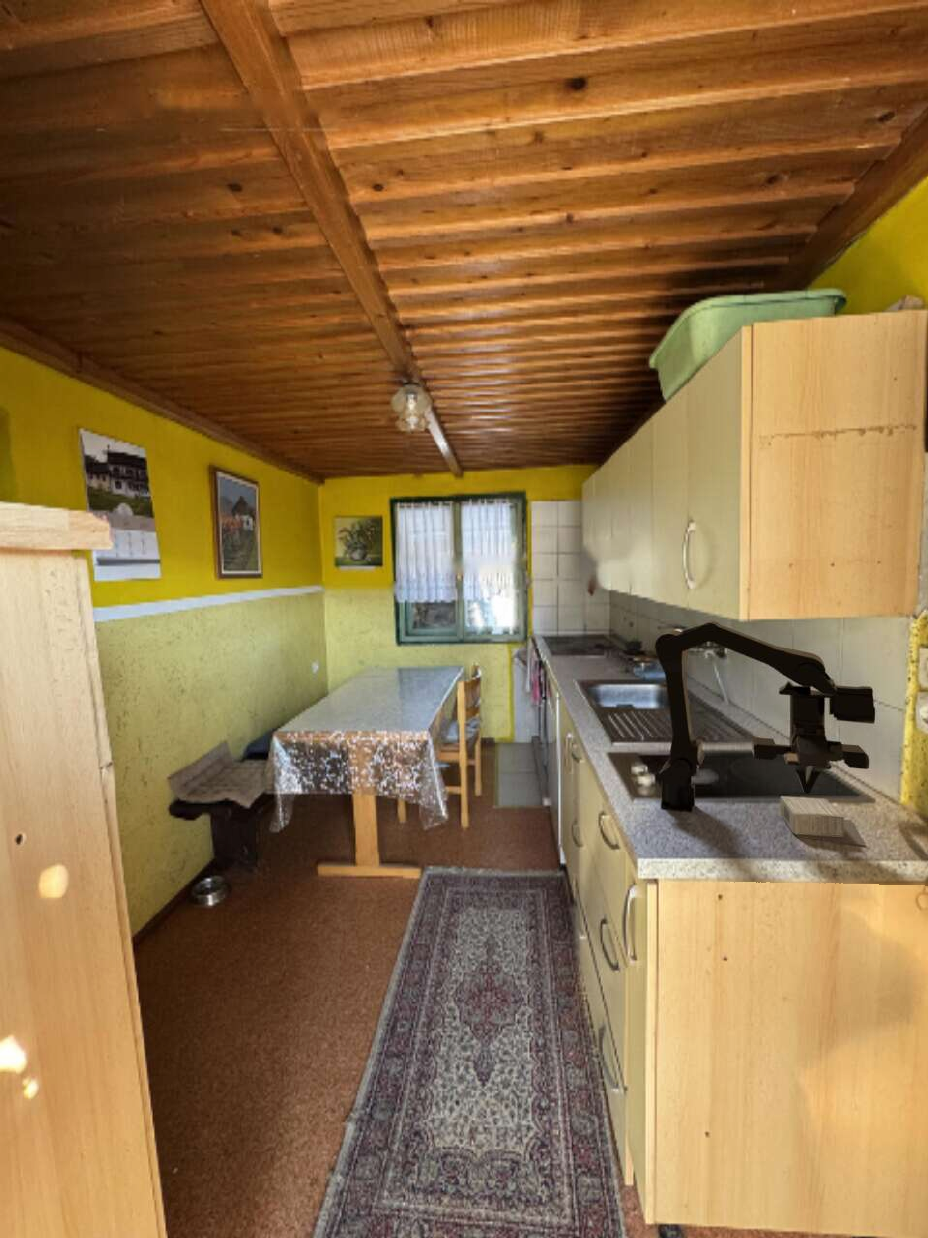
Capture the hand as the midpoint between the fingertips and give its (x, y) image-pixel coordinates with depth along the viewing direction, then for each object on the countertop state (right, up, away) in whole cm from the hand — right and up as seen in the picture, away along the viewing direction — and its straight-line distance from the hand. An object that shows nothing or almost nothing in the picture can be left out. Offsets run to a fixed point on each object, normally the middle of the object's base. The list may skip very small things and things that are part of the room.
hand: (806, 793), depth 101 cm
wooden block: (-3, -5, +2) cm, 6 cm away
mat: (+4, -7, +1) cm, 8 cm away
